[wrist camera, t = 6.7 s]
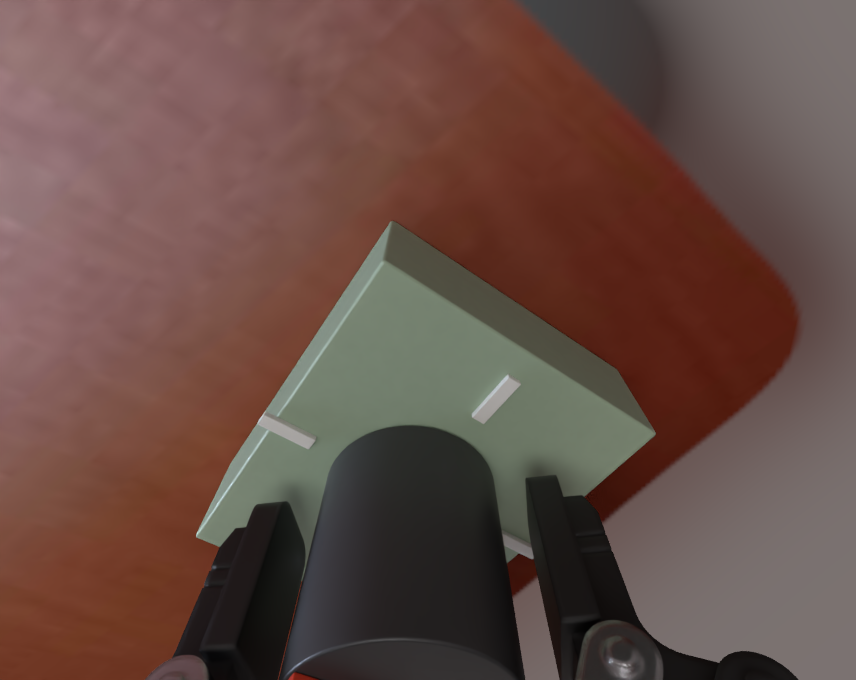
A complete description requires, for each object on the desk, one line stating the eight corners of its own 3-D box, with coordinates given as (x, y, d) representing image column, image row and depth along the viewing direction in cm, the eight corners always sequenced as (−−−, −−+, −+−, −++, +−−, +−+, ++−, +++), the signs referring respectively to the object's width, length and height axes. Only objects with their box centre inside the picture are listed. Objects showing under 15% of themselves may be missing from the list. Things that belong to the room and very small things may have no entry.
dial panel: (434, 557, 19) (435, 641, 16) (222, 459, 17) (181, 537, 14) (624, 374, 15) (669, 444, 12) (382, 212, 13) (369, 253, 10)
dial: (528, 470, 13) (587, 711, 8) (437, 566, 15) (442, 811, 10) (377, 396, 12) (343, 626, 7) (299, 510, 14) (229, 754, 9)
